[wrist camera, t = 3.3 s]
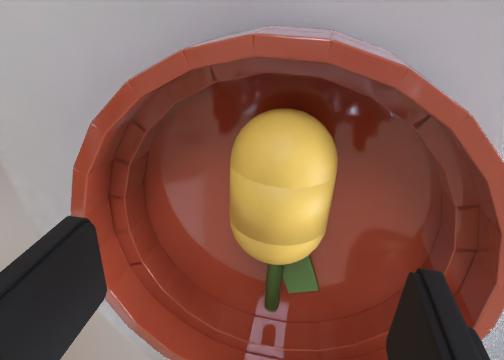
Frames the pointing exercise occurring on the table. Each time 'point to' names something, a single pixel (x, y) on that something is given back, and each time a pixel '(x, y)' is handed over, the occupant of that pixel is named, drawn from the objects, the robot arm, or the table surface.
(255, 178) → the tulip
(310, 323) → the bowl
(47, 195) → the table surface
